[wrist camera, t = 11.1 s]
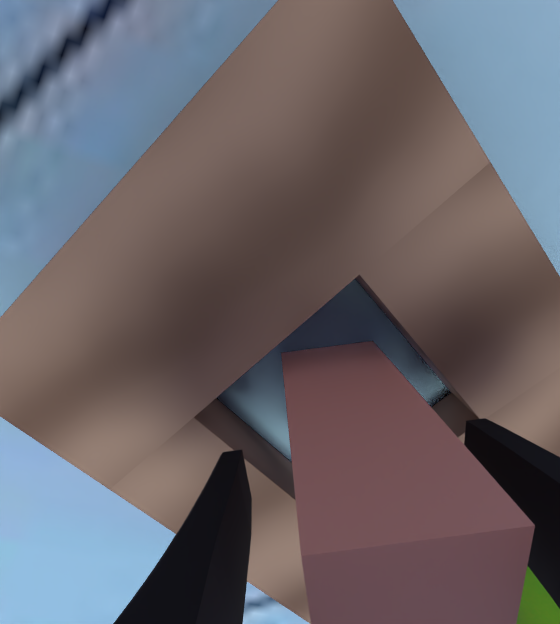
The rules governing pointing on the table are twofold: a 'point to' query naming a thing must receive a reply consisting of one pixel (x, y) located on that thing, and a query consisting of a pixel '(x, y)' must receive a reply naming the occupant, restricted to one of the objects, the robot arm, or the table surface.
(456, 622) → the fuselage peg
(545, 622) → the toy crocodile
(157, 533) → the table surface
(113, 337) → the jig board
